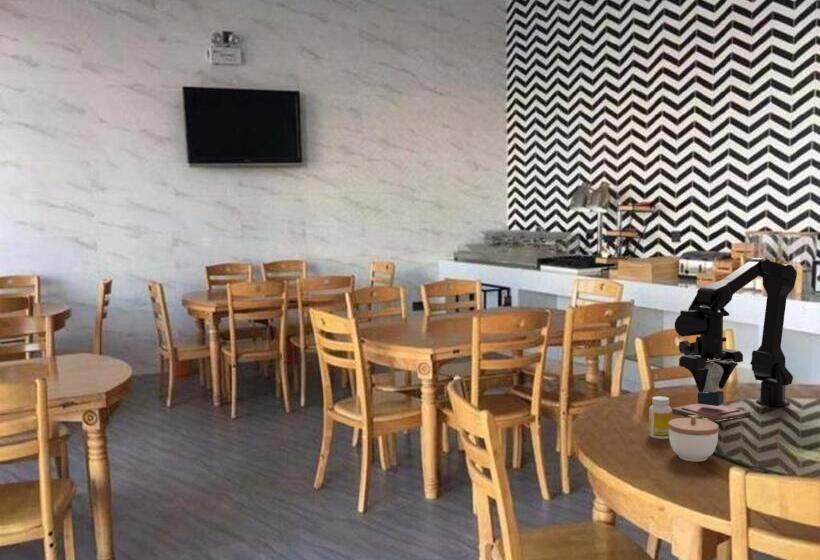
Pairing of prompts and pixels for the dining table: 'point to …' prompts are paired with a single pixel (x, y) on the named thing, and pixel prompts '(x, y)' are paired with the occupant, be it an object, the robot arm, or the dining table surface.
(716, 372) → the watch
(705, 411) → the pink square tray
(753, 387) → the dining table surface
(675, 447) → the lidded jar
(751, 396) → the dining table surface
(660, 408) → the supplement bottle
